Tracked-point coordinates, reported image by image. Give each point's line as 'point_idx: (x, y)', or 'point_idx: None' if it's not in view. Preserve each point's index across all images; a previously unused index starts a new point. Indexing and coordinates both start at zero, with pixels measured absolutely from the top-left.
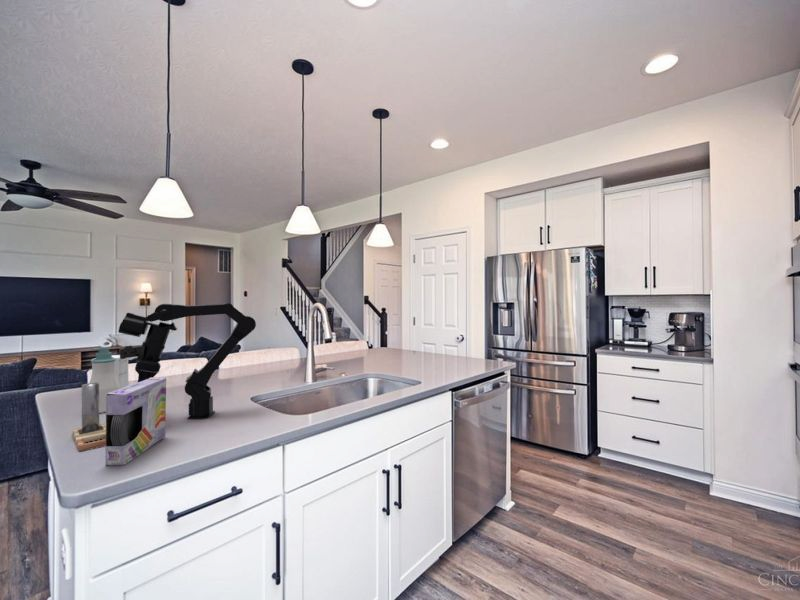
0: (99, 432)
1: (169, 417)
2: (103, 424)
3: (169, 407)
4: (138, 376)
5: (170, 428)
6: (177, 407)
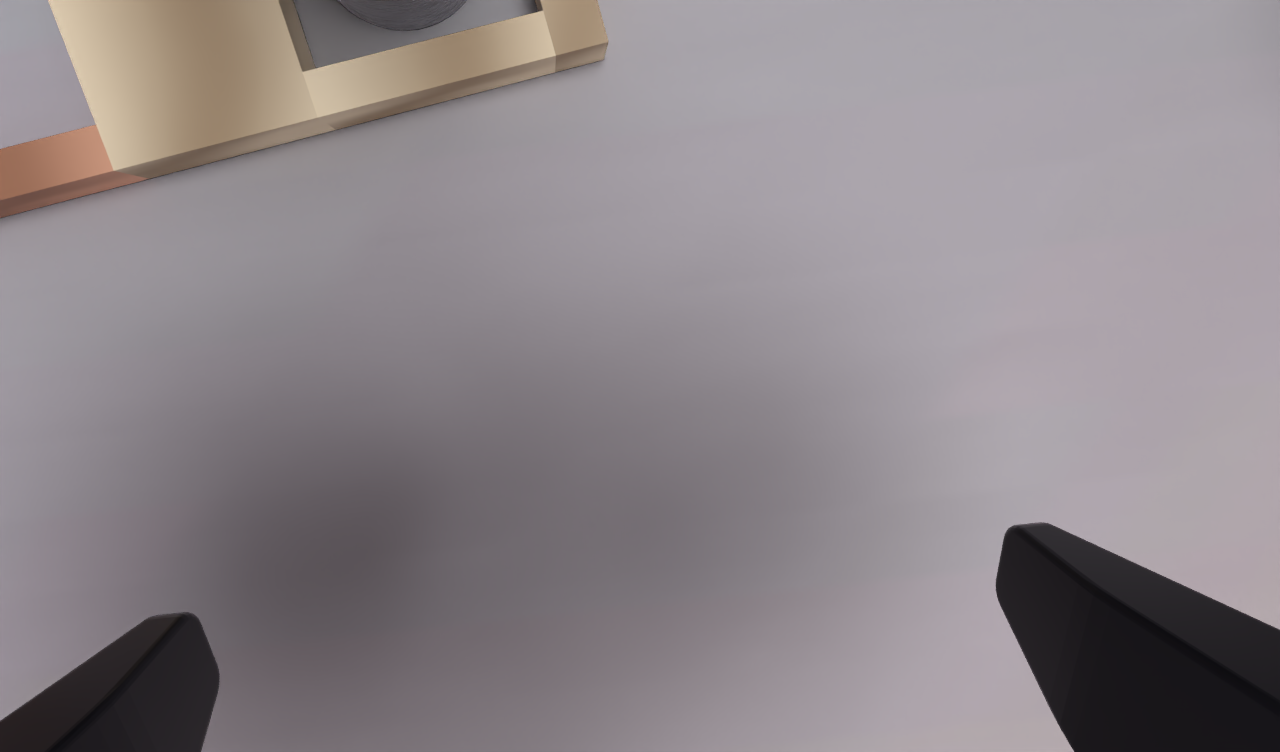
0: (178, 37)
1: (685, 688)
2: (568, 32)
3: None
4: (1199, 654)
5: None
6: None
